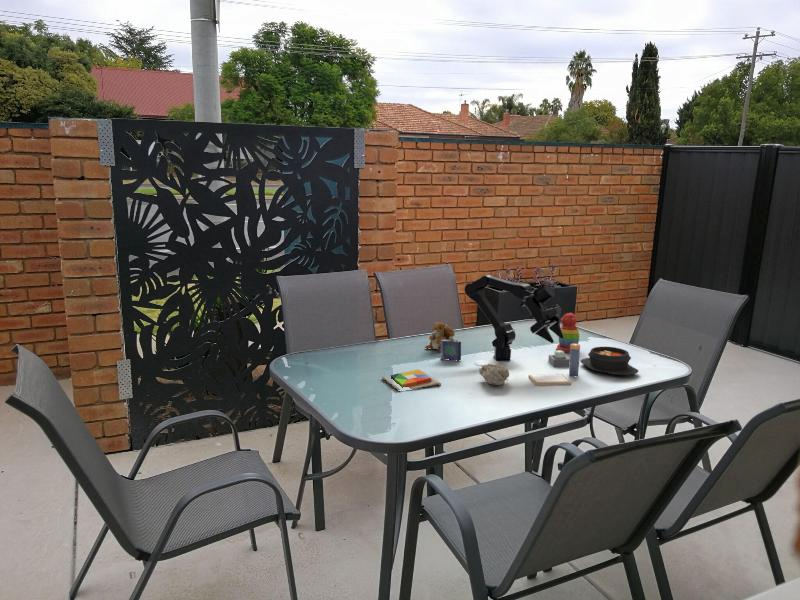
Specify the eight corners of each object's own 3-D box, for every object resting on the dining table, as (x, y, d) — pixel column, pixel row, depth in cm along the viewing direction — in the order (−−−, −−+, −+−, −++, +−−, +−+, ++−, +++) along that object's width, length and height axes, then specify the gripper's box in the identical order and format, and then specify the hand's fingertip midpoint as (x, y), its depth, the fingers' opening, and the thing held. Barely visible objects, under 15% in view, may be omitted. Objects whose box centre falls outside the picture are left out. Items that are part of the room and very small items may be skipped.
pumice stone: (509, 391, 226) (510, 371, 224) (477, 389, 228) (478, 369, 226) (508, 379, 239) (509, 360, 238) (478, 378, 241) (479, 359, 240)
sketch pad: (535, 385, 233) (535, 382, 232) (528, 377, 242) (528, 374, 242) (570, 384, 233) (570, 381, 233) (562, 376, 243) (562, 373, 243)
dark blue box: (439, 359, 266) (440, 336, 264) (441, 358, 269) (442, 334, 267) (460, 361, 263) (460, 338, 261) (461, 360, 266) (462, 336, 264)
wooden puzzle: (380, 380, 241) (380, 371, 240) (423, 374, 248) (423, 366, 248) (397, 393, 225) (397, 385, 225) (442, 387, 233) (442, 378, 232)
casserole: (648, 374, 246) (649, 354, 244) (618, 382, 236) (620, 362, 235) (599, 359, 267) (600, 341, 265) (570, 366, 257) (571, 347, 255)
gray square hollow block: (553, 366, 256) (553, 359, 256) (548, 361, 263) (548, 355, 263) (569, 366, 257) (569, 359, 256) (563, 361, 264) (564, 354, 263)
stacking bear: (557, 346, 288) (559, 310, 285) (579, 348, 284) (581, 311, 281) (555, 352, 278) (556, 314, 275) (577, 354, 275) (579, 316, 271)
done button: (555, 361, 258) (556, 353, 257) (552, 359, 262) (553, 350, 261) (564, 361, 258) (565, 352, 257) (561, 359, 262) (562, 350, 261)
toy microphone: (570, 377, 243) (572, 346, 240) (567, 374, 246) (569, 343, 244) (579, 376, 243) (581, 345, 240) (576, 373, 246) (578, 343, 244)
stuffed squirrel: (423, 349, 283) (423, 322, 280) (441, 343, 293) (441, 317, 291) (440, 353, 276) (440, 325, 274) (457, 347, 287) (458, 320, 284)
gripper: (539, 302, 241) (562, 334, 237) (559, 295, 255) (581, 325, 251) (520, 317, 248) (542, 348, 244) (541, 310, 262) (562, 339, 258)
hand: (557, 340), depth 249 cm, fingers open, 9 cm apart
